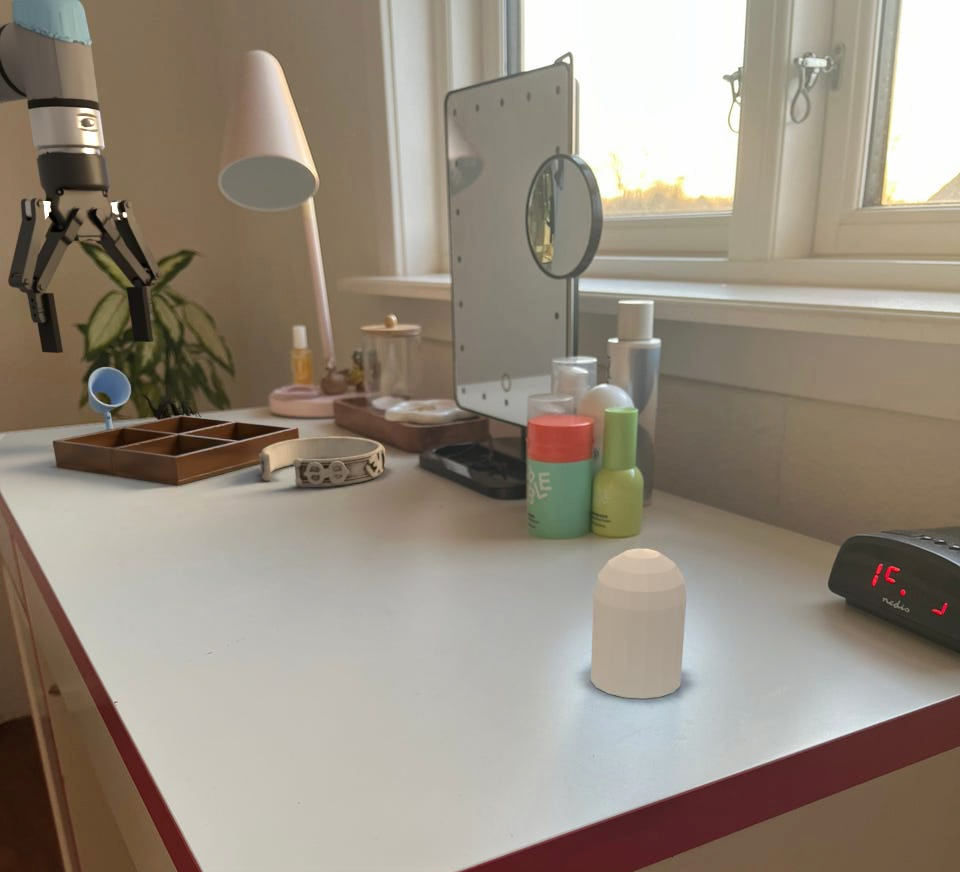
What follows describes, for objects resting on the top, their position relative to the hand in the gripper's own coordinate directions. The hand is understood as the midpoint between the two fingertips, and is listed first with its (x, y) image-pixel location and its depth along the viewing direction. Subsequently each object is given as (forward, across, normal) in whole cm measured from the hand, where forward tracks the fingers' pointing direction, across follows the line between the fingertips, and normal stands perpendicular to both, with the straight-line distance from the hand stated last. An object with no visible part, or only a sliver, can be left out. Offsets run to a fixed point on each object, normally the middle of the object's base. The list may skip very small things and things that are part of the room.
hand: (100, 347), depth 124 cm
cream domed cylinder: (+13, -34, -85) cm, 92 cm away
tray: (+12, -1, -13) cm, 18 cm away
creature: (+12, +15, +4) cm, 20 cm away
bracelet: (+13, +1, -33) cm, 35 cm away
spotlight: (+12, 0, 0) cm, 13 cm away
